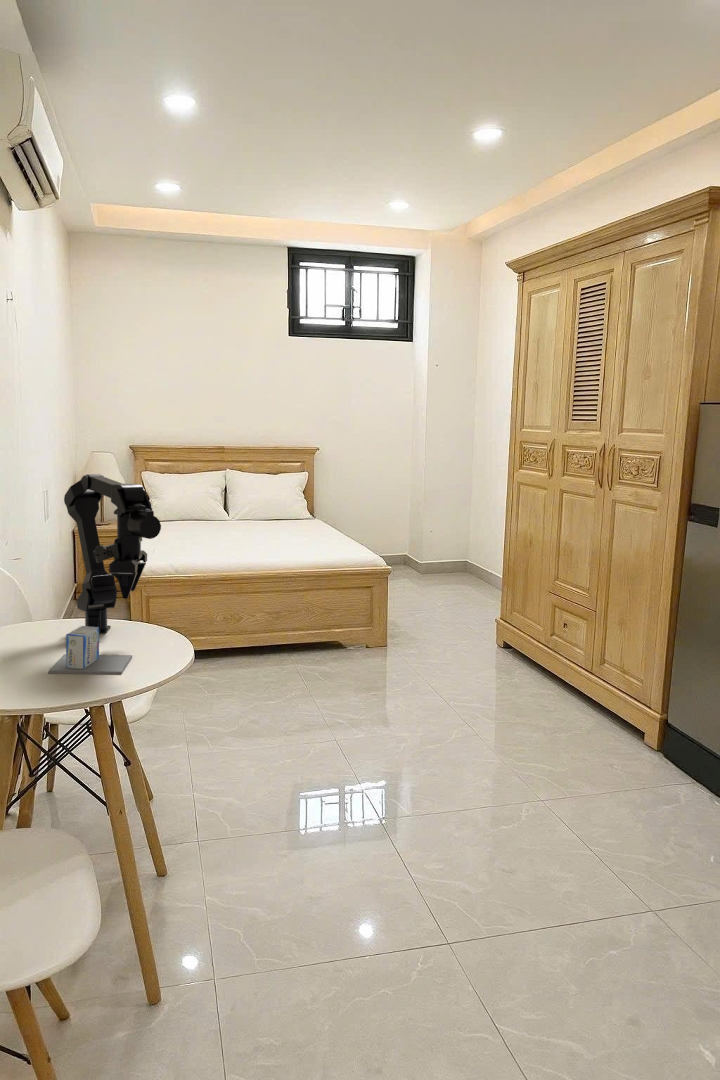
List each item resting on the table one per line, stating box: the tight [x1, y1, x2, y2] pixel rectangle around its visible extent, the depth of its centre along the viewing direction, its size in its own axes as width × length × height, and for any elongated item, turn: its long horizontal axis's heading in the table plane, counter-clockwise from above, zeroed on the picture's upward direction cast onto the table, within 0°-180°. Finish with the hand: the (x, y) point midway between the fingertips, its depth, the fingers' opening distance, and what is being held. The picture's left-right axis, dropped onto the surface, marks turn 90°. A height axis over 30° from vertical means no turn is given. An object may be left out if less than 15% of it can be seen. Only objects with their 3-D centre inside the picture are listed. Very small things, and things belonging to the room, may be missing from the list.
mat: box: [47, 653, 133, 675], centre depth 183 cm, size 13×16×1 cm
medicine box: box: [65, 625, 100, 669], centre depth 181 cm, size 8×4×9 cm
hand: (128, 594), depth 199 cm, fingers open, 9 cm apart
